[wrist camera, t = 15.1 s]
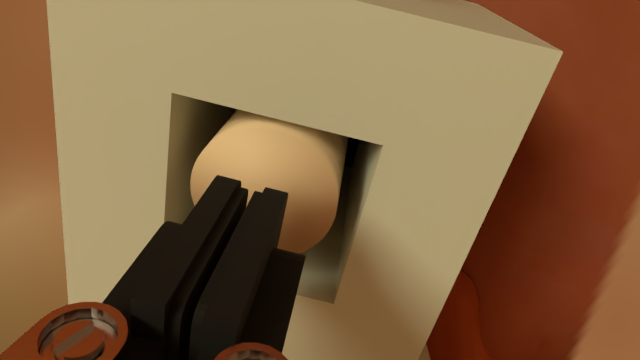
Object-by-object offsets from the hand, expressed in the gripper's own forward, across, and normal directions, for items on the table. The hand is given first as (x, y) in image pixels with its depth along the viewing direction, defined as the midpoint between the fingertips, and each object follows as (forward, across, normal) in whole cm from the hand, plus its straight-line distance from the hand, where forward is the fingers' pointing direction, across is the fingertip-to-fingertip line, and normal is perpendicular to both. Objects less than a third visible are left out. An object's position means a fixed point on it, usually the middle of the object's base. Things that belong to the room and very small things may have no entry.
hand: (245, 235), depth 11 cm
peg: (+12, 0, 0) cm, 12 cm away
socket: (+12, 0, +1) cm, 12 cm away
